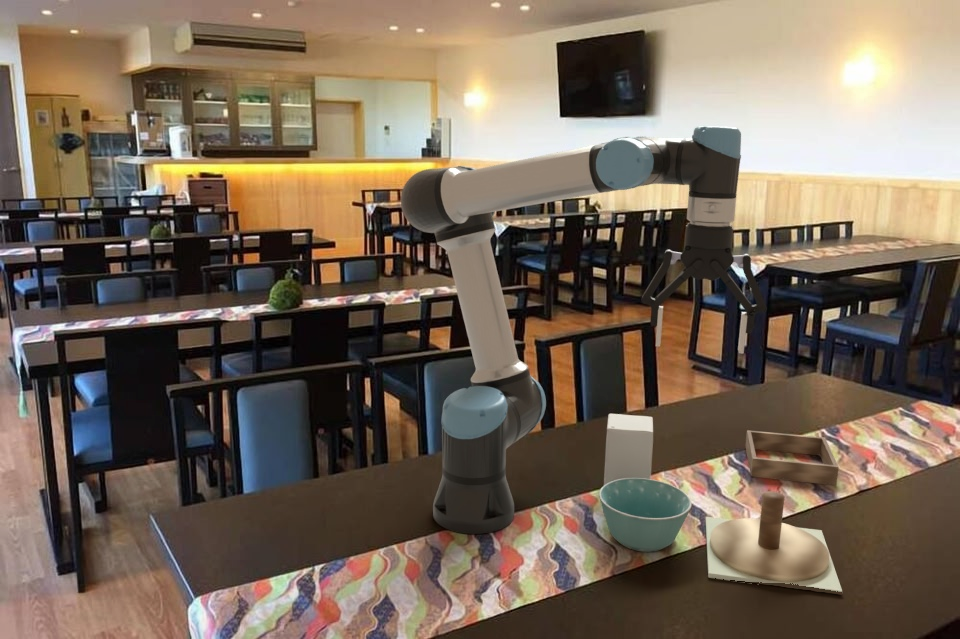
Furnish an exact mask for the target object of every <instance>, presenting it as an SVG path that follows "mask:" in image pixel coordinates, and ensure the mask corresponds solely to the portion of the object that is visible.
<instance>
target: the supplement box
mask: <svg viewBox="0 0 960 639" xmlns="http://www.w3.org/2000/svg"><path fill="white" fill-rule="evenodd" d="M607 416H608V417H607V426H606V440H605V456H604V457H605V458H604V475H603V486H604V485H606V484H607V483H609V482H611V481H614V480H618V479H624V478H645V479H652V478H651V477H652V476H651V475H652V464H653V463H652V462H653V444H654V419H653V416H647V415H630V414H621V413H619V414H618V413H608V415H607Z"/></svg>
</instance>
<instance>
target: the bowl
mask: <svg viewBox="0 0 960 639" xmlns="http://www.w3.org/2000/svg"><path fill="white" fill-rule="evenodd" d="M598 496H599V500H600V503H601V508H602V511H603V514H604V517H605V518H604V519H605V521H606V524H607V526H608V529H609V533H610V534H611V536H612V537H613V539H615V540H616V541H617V542H618V543H619V544H621V545H622V546H623V547H625V548H627V549H629V550H633V551H637V552H643V553H646V552H647V553H649V552H650V553H651V552H658V551H661V550H663V549H665V548H666V547H668V546H670V545H671V544H673V543H674V542H675V540H676V538H677V537H678V534H679V532H680V531H681V529H682V527H683V525H684V522H685V521H686V519H687V517H688V515H689V512H690V510H691V509H692V500H691V497H690V496H689V495H688V494H687V493H686V492H685V491H684V490H682V489H681V488H678V487H677V486H674V485H672V484H671V483H667V482H664V481H660V480H657V479H654V478H651V479H645V478H624V479H618V480H614V481H611V482H609V483H607V484H606V485H604V484H603V486H602V487H601V488H600V489H599V492H598Z"/></svg>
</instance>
